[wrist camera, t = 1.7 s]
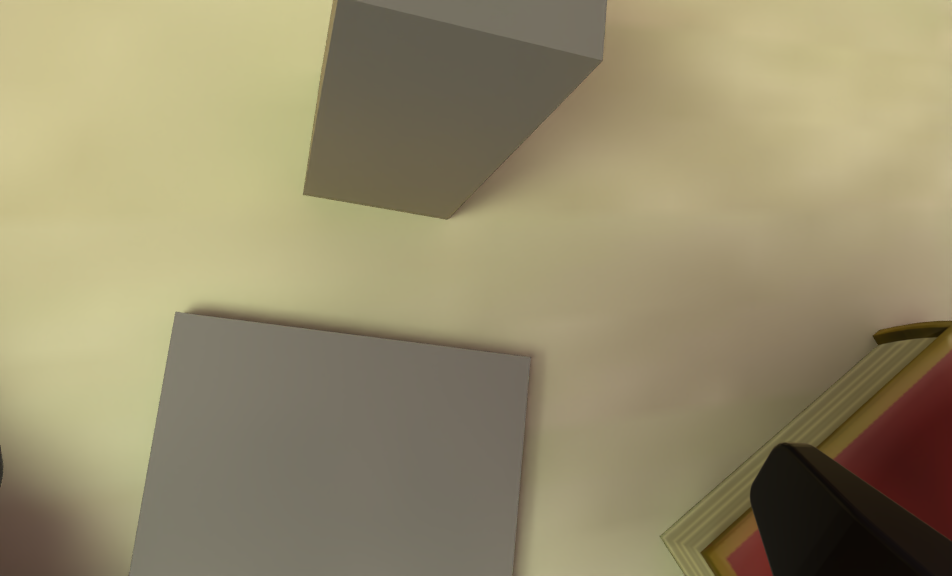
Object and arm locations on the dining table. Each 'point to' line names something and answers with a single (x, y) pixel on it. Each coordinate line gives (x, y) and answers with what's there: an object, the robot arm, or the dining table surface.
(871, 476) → the hardcover book
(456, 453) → the plate
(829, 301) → the dining table surface
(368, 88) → the grey tall piece
